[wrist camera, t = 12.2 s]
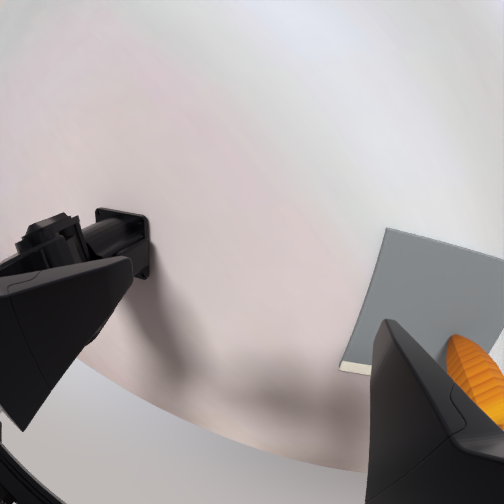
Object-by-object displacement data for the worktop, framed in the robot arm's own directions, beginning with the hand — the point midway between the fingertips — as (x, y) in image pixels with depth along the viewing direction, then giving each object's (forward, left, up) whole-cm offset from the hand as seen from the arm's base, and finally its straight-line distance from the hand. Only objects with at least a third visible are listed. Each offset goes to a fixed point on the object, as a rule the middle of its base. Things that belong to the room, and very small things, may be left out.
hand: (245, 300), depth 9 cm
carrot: (+17, -8, -13) cm, 22 cm away
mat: (+15, -7, -13) cm, 21 cm away
